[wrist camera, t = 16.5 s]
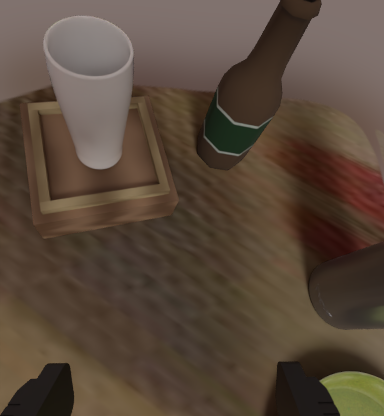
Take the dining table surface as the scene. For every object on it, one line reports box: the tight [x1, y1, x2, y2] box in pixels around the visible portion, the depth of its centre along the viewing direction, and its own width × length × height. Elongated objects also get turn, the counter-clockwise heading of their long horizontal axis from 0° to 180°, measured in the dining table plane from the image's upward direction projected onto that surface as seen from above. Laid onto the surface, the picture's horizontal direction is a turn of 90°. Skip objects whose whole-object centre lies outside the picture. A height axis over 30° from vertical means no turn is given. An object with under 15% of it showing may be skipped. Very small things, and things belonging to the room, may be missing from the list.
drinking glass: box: [43, 16, 134, 169], centre depth 30 cm, size 7×7×15 cm
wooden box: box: [20, 96, 179, 239], centre depth 38 cm, size 16×16×6 cm
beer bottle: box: [197, 0, 322, 170], centre depth 36 cm, size 8×8×24 cm
